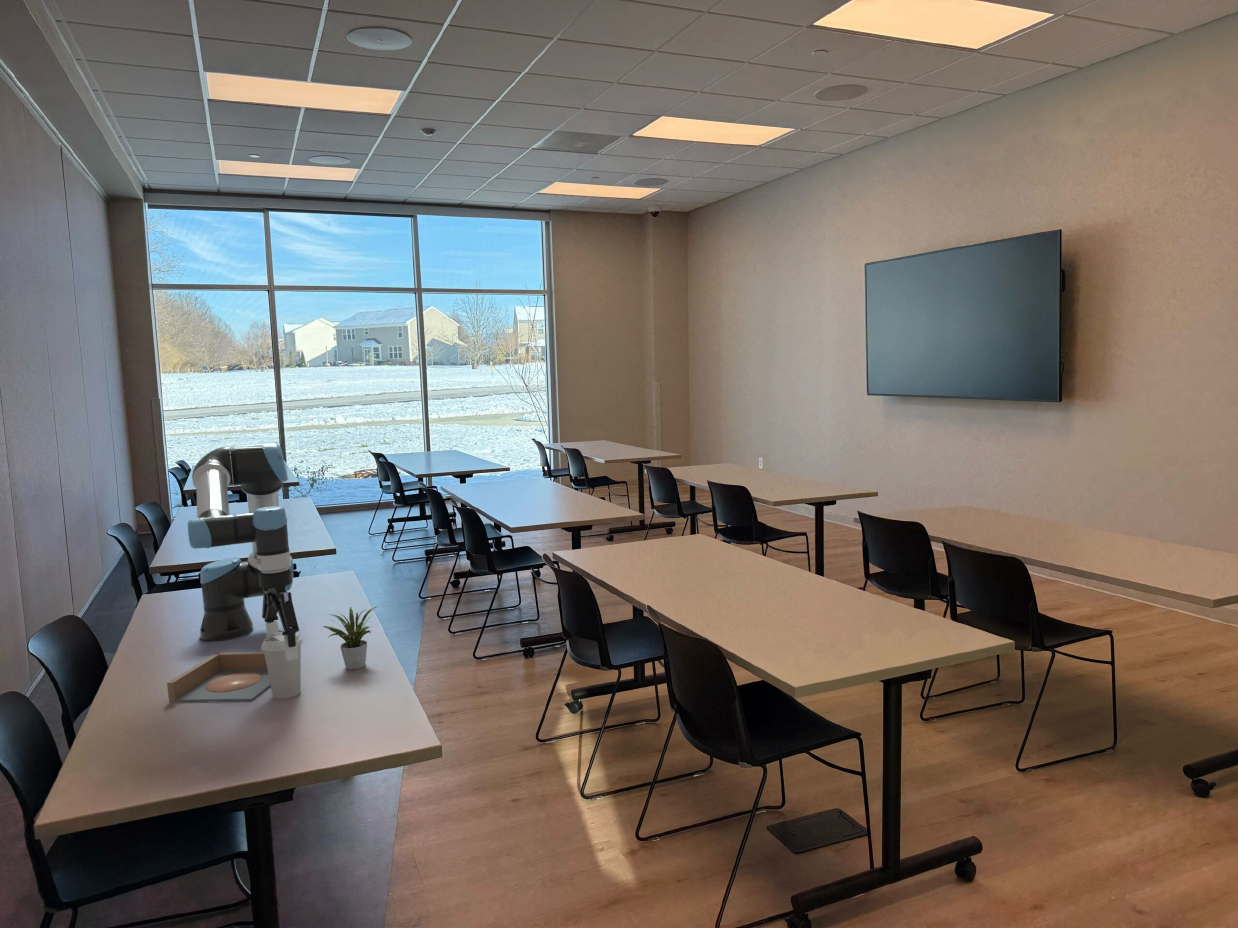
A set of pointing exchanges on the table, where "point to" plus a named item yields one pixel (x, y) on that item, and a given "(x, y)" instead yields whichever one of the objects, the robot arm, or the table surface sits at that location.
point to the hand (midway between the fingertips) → (282, 653)
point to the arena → (222, 679)
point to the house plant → (352, 640)
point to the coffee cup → (282, 667)
